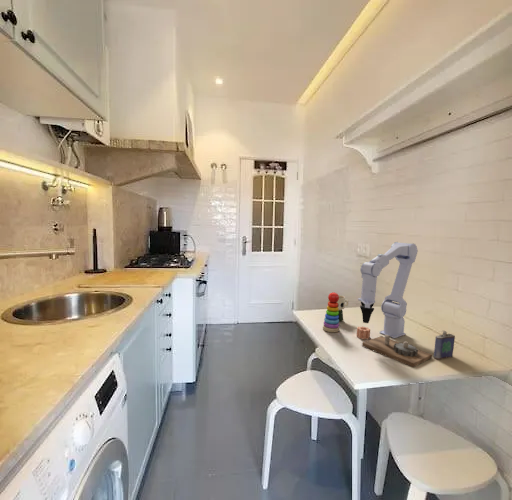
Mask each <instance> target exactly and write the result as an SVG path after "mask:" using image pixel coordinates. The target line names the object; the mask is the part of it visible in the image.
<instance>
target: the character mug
mask: <svg viewBox="0 0 512 500" xmlns="http://www.w3.org/2000/svg"><path fill="white" fill-rule="evenodd" d="M338 296H339V300H338V301H337V303H338V308H339V310H338V312H339V314H338V316H339V318H338V319H339V322H342V321H344V313H343V310H344V309H345V307H348V306H349V300H348V299H346V296H344V295H340V294H338ZM328 302H330V301H329V299H327V303H328Z"/></svg>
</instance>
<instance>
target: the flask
mask: <svg viewBox="0 0 512 500" xmlns="http://www.w3.org/2000/svg"><path fill="white" fill-rule="evenodd" d="M455 339H456V336H455V335H454V334H452V333H447V331H446V330H443V331H442V334H439V335H436V336H435V339H434V341H435V342H434V350H433V358H434V359H435V360H444V359H451V358H453V357H454V355H453V354H454V349H455V348H454V347H455V341H456V340H455Z"/></svg>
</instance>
